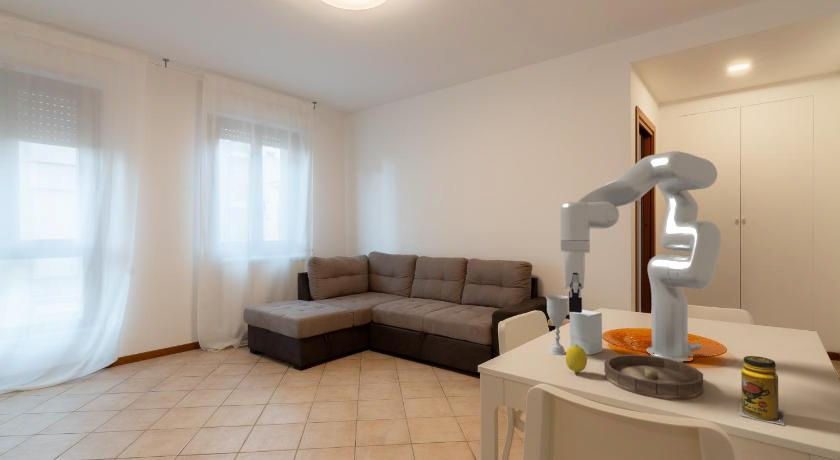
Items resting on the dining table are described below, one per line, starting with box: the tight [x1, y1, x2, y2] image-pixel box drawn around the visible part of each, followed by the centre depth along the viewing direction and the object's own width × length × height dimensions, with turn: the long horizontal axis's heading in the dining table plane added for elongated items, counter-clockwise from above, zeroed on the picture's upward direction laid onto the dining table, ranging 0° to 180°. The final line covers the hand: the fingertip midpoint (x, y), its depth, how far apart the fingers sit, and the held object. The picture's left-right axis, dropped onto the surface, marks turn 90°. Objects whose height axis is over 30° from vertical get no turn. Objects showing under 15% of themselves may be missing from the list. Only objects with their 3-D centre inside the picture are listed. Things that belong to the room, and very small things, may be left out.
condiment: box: [738, 355, 785, 426], centre depth 86 cm, size 7×8×12 cm
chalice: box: [544, 294, 569, 356], centre depth 129 cm, size 7×7×18 cm
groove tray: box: [603, 354, 704, 401], centre depth 105 cm, size 22×22×4 cm
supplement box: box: [569, 309, 603, 356], centre depth 131 cm, size 7×7×13 cm
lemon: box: [565, 344, 588, 374], centre depth 111 cm, size 6×6×8 cm
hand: (575, 308), depth 111 cm, fingers open, 9 cm apart
